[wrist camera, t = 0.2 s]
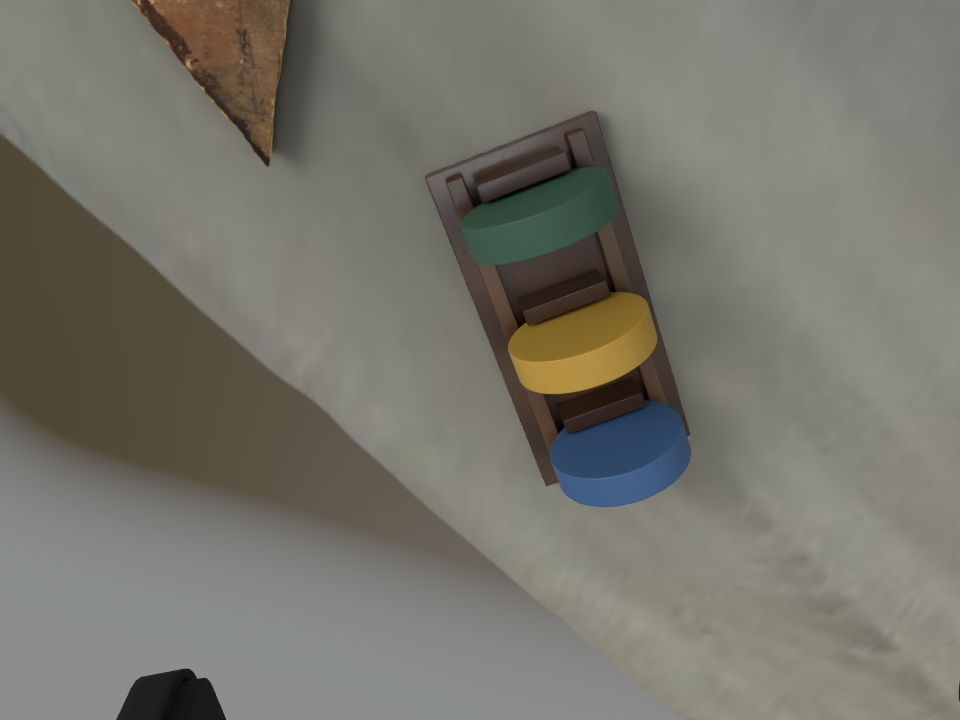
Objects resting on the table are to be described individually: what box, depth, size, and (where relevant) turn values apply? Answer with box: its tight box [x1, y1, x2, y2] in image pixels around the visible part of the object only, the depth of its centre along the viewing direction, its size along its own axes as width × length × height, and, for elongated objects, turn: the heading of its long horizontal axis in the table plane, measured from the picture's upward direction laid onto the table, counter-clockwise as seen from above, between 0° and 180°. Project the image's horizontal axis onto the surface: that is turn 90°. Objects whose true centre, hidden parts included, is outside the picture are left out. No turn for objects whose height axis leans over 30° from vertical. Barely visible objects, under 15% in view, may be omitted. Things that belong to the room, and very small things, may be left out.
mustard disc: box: [508, 292, 657, 394], centre depth 42 cm, size 2×8×8 cm, turn 110°
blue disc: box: [550, 400, 691, 507], centre depth 45 cm, size 2×8×8 cm, turn 110°
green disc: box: [460, 167, 619, 265], centre depth 39 cm, size 2×8×8 cm, turn 110°
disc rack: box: [425, 111, 690, 486], centre depth 45 cm, size 22×10×3 cm, turn 20°
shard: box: [131, 0, 290, 167], centre depth 38 cm, size 11×8×2 cm
